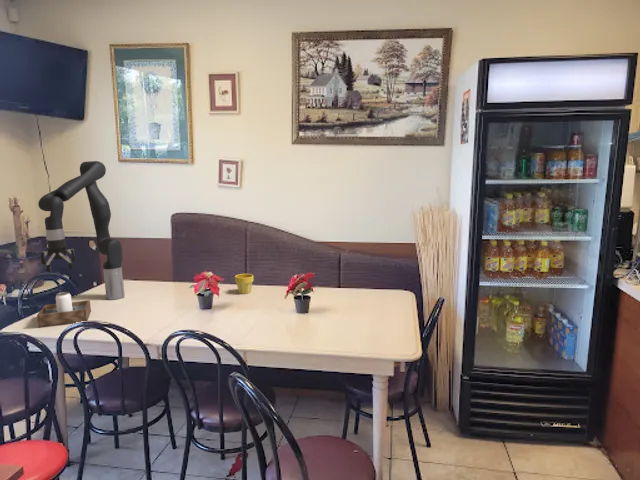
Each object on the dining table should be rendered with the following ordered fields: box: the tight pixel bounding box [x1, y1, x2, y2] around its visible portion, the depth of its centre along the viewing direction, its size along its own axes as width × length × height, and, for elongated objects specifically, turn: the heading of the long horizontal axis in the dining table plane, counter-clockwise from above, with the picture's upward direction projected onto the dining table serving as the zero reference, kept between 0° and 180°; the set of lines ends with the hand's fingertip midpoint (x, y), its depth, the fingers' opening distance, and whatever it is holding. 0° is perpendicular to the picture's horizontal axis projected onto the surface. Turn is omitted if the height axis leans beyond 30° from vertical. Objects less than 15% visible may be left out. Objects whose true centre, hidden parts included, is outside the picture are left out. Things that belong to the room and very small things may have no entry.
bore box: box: [36, 299, 92, 329], centre depth 217 cm, size 20×16×6 cm
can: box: [55, 291, 73, 313], centre depth 216 cm, size 6×6×12 cm
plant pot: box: [234, 273, 254, 295], centre depth 256 cm, size 10×10×10 cm
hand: (60, 271), depth 216 cm, fingers open, 8 cm apart
